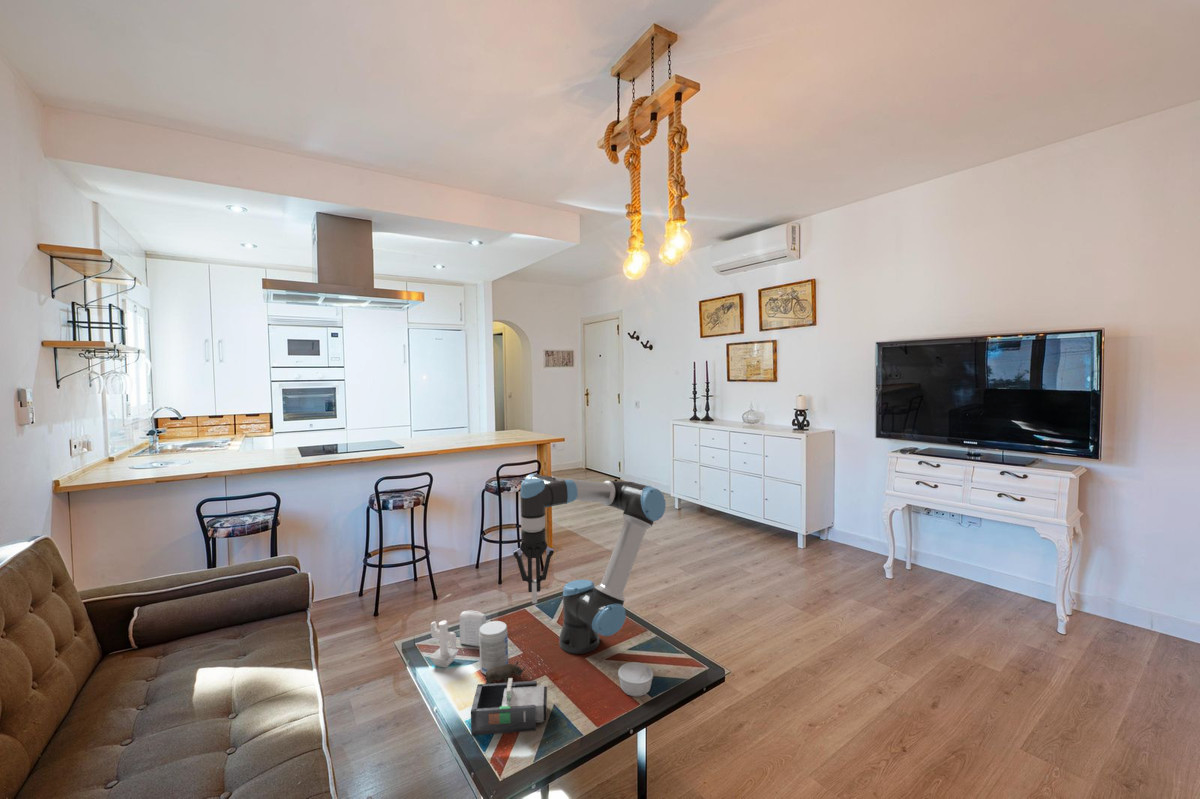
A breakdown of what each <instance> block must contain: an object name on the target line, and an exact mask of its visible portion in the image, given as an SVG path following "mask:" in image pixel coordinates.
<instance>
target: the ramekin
mask: <svg viewBox="0 0 1200 799" xmlns="http://www.w3.org/2000/svg"><path fill="white" fill-rule="evenodd" d="M617 672H618V673H617V675H618V676H617V677H618V679H619V684H620V689H621V690H622V691H623V692H624V693H625V694H626V695H628V696H631V697H641V696H644V695H646V694H647V693H648V692H650V690H651V686H652V682H653V681H652V680H653V678H654V671H653V670H652V669H651V667H650V666H649V665H647V664H645V663H642V662H635V661H633V662H627V663H624V664H622V665H621V666H620V667H619V669H618V671H617Z"/></svg>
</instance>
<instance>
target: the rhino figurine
mask: <svg viewBox="0 0 1200 799" xmlns="http://www.w3.org/2000/svg"><path fill="white" fill-rule="evenodd" d="M518 665H519V662H518V661H516V663H515V664H513V663H508V664H506V665H504V666H501V667H493V668H490V669H488V670H487V672H486V675H485V680H486V682H485V683H484V684H493V683H494V680H495V681H498V682H499V681H502V680H503V681H502V683H508V678H511V675H514V676H516V677H518V676H519V677H520V676H521V675H522V673H523V672H524V671H525V669H526V666H524V667H523V668H522V667H521V666H518Z"/></svg>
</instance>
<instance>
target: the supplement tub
mask: <svg viewBox="0 0 1200 799" xmlns="http://www.w3.org/2000/svg"><path fill="white" fill-rule="evenodd" d="M508 640H509V639H508V625H507V624H506V623H505V622H504V621H500V620H492V621H488V622H486V623H485V624H483V625H482V626H481V627H480V629H479V645H480V646H479V661H480V662H479V665H480V666H479V668H480V672H481V673H482V674H483V675H485V676H486V672H487V670H488V669H490V668H493V667H501V666H504V665H506V664H509V641H508Z"/></svg>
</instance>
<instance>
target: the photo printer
mask: <svg viewBox="0 0 1200 799" xmlns="http://www.w3.org/2000/svg"><path fill="white" fill-rule="evenodd" d="M485 623H487V616H486V614H484V613H483V612H481V611H476V610H463V611H462V612H461V613H460V614H459V644H463V645H467V646H473V647H480V645H479V629H480V627H481V626H482V625H483V624H485Z"/></svg>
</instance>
